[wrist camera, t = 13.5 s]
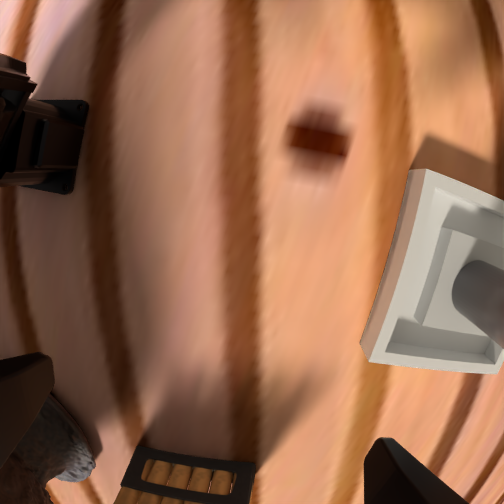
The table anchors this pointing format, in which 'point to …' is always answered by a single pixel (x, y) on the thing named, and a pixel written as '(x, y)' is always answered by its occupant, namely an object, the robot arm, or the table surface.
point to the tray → (415, 273)
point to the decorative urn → (45, 457)
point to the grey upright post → (464, 287)
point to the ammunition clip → (184, 479)
